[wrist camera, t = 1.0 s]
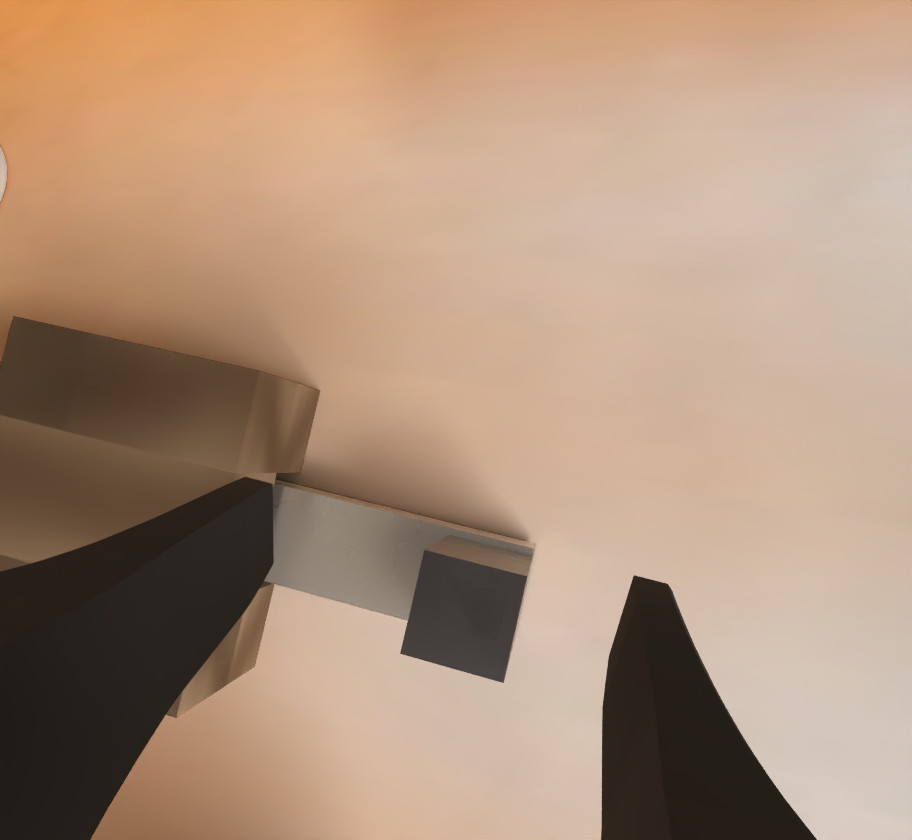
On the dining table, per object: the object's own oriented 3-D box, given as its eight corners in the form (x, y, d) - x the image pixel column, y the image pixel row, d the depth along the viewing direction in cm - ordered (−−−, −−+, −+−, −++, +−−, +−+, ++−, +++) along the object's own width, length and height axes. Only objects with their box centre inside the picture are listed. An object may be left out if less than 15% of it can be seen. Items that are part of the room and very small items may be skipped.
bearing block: (254, 666, 26) (176, 717, 21) (52, 606, 28) (-70, 640, 22) (320, 390, 27) (259, 371, 21) (117, 345, 28) (13, 316, 23)
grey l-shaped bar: (514, 638, 25) (501, 691, 19) (-45, 486, 29) (-202, 490, 23) (536, 543, 25) (529, 567, 19) (-25, 404, 29) (-176, 387, 23)
